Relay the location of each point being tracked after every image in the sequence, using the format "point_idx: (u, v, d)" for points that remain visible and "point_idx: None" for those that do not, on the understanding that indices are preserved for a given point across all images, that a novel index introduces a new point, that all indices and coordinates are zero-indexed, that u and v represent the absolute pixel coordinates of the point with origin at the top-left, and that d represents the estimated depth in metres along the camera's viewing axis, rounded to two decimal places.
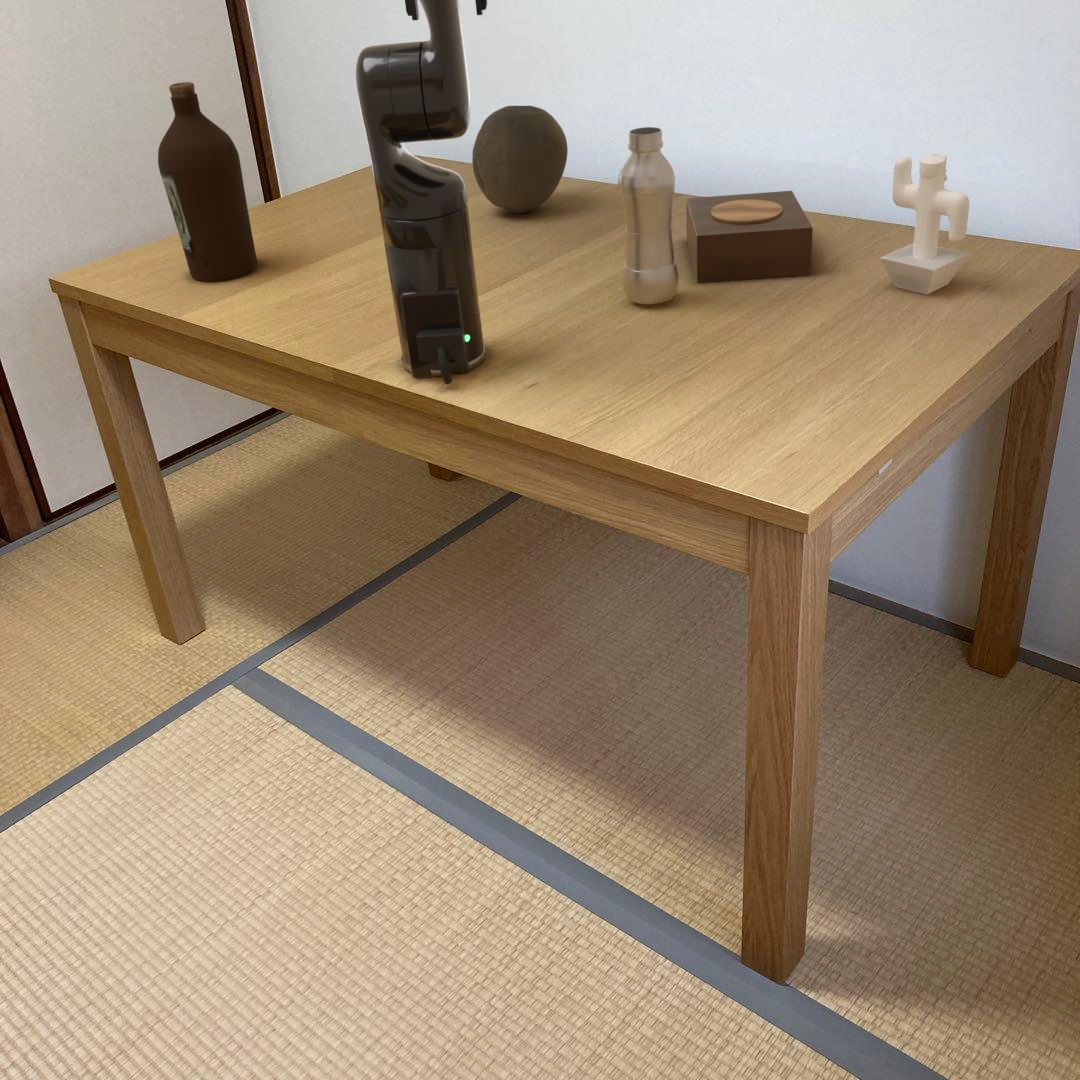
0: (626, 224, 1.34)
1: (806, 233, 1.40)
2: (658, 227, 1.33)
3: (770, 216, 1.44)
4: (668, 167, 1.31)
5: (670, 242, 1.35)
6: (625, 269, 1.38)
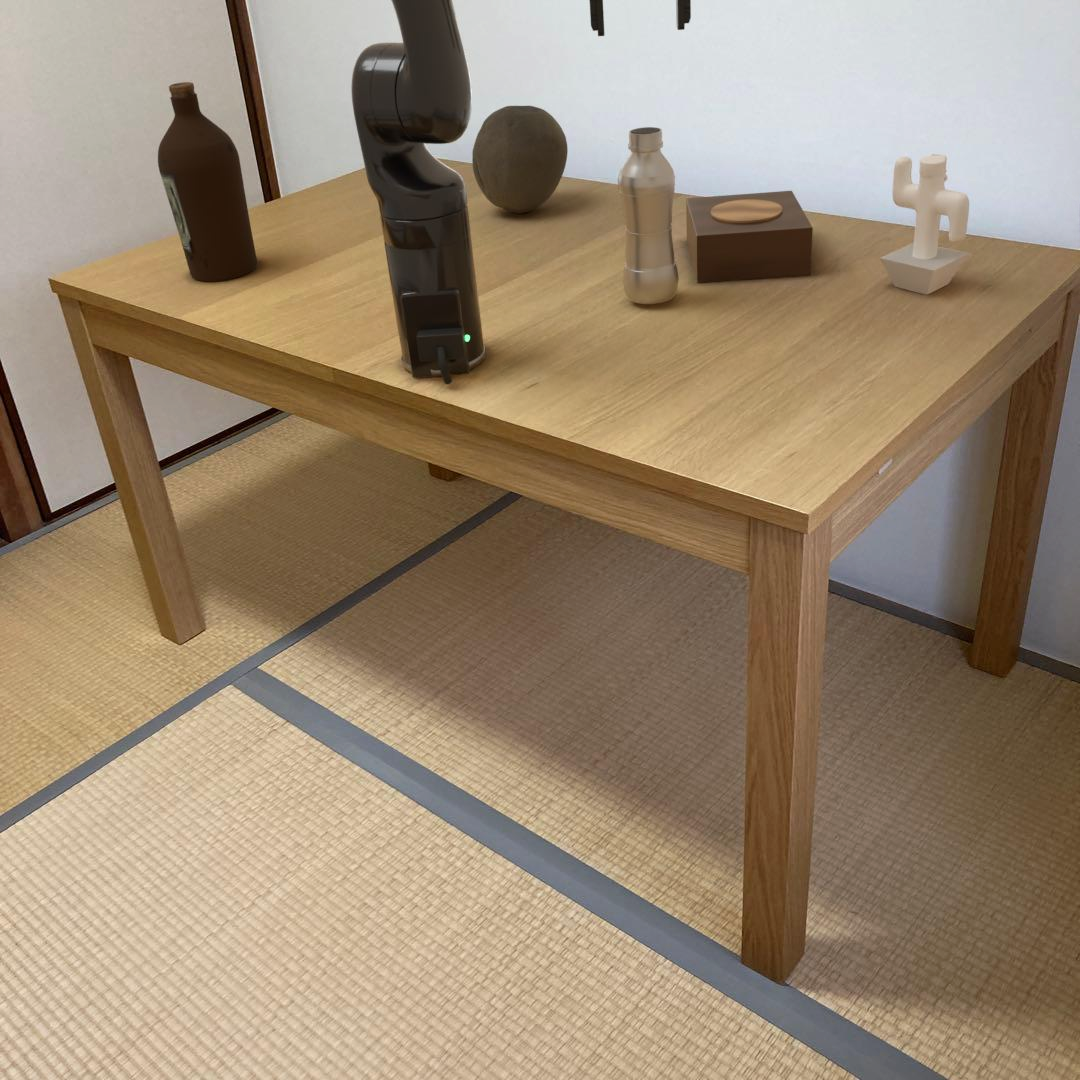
0: (626, 224, 1.34)
1: (806, 233, 1.40)
2: (658, 227, 1.33)
3: (770, 216, 1.44)
4: (668, 167, 1.31)
5: (670, 242, 1.35)
6: (625, 269, 1.38)
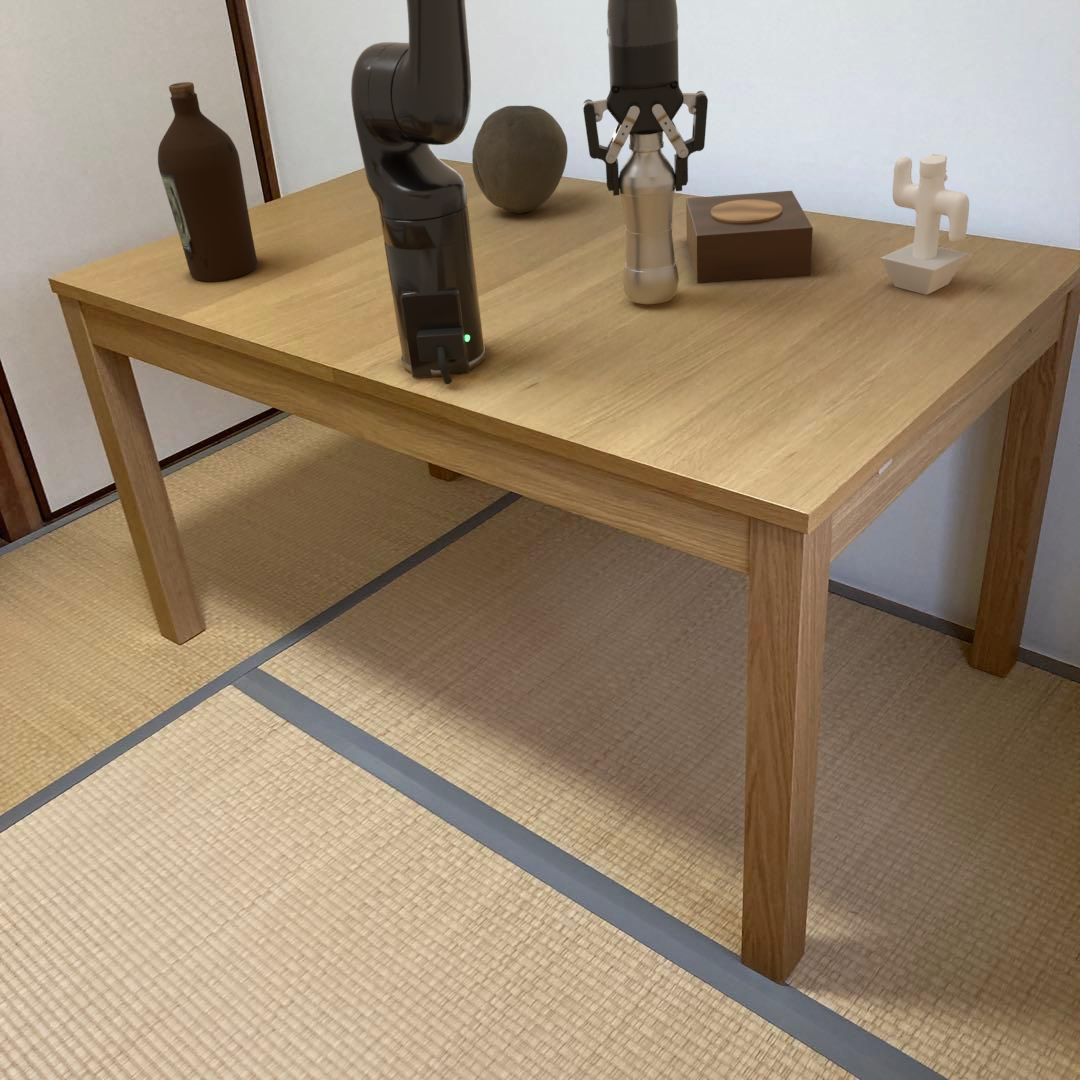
0: (626, 224, 1.34)
1: (806, 233, 1.40)
2: (658, 227, 1.33)
3: (770, 216, 1.44)
4: (669, 167, 1.31)
5: (670, 242, 1.35)
6: (625, 269, 1.38)
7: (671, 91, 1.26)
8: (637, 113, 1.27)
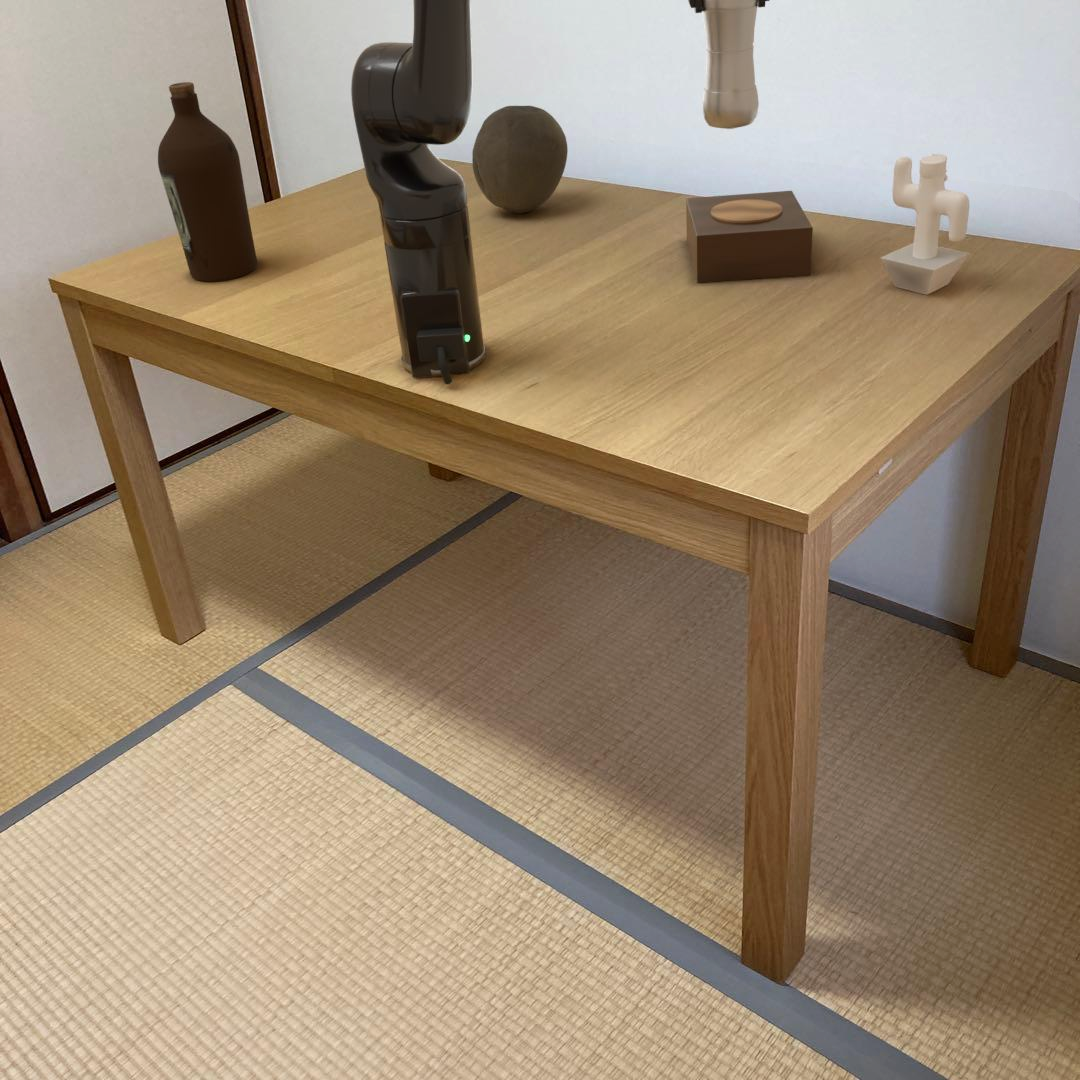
0: (708, 43, 1.34)
1: (806, 233, 1.40)
2: (741, 44, 1.32)
3: (770, 216, 1.44)
4: None
5: (752, 62, 1.34)
6: (705, 92, 1.37)
7: None
8: None
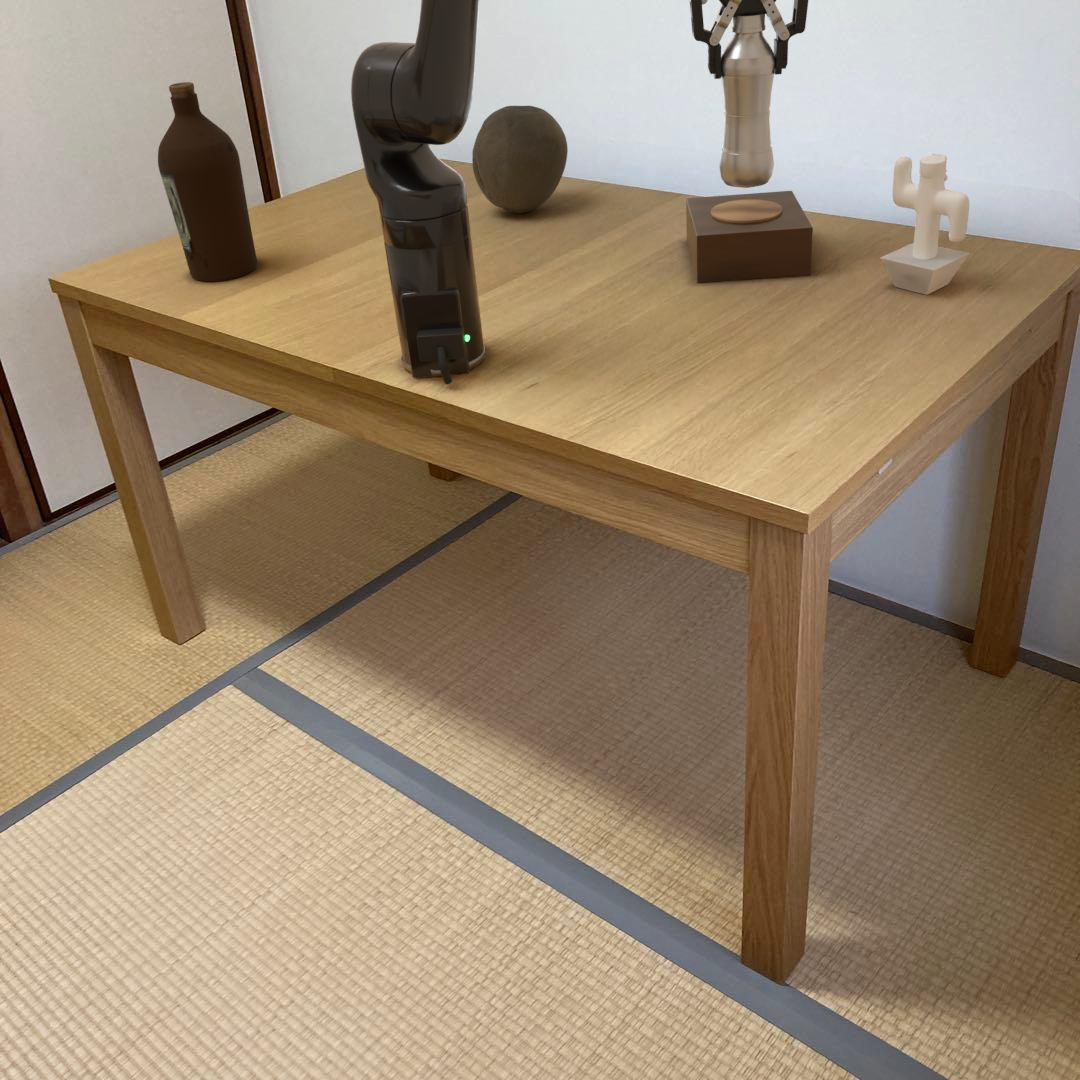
0: (726, 107, 1.40)
1: (806, 233, 1.40)
2: (758, 109, 1.38)
3: (770, 216, 1.44)
4: (770, 49, 1.36)
5: (768, 125, 1.40)
6: (723, 153, 1.43)
7: None
8: None
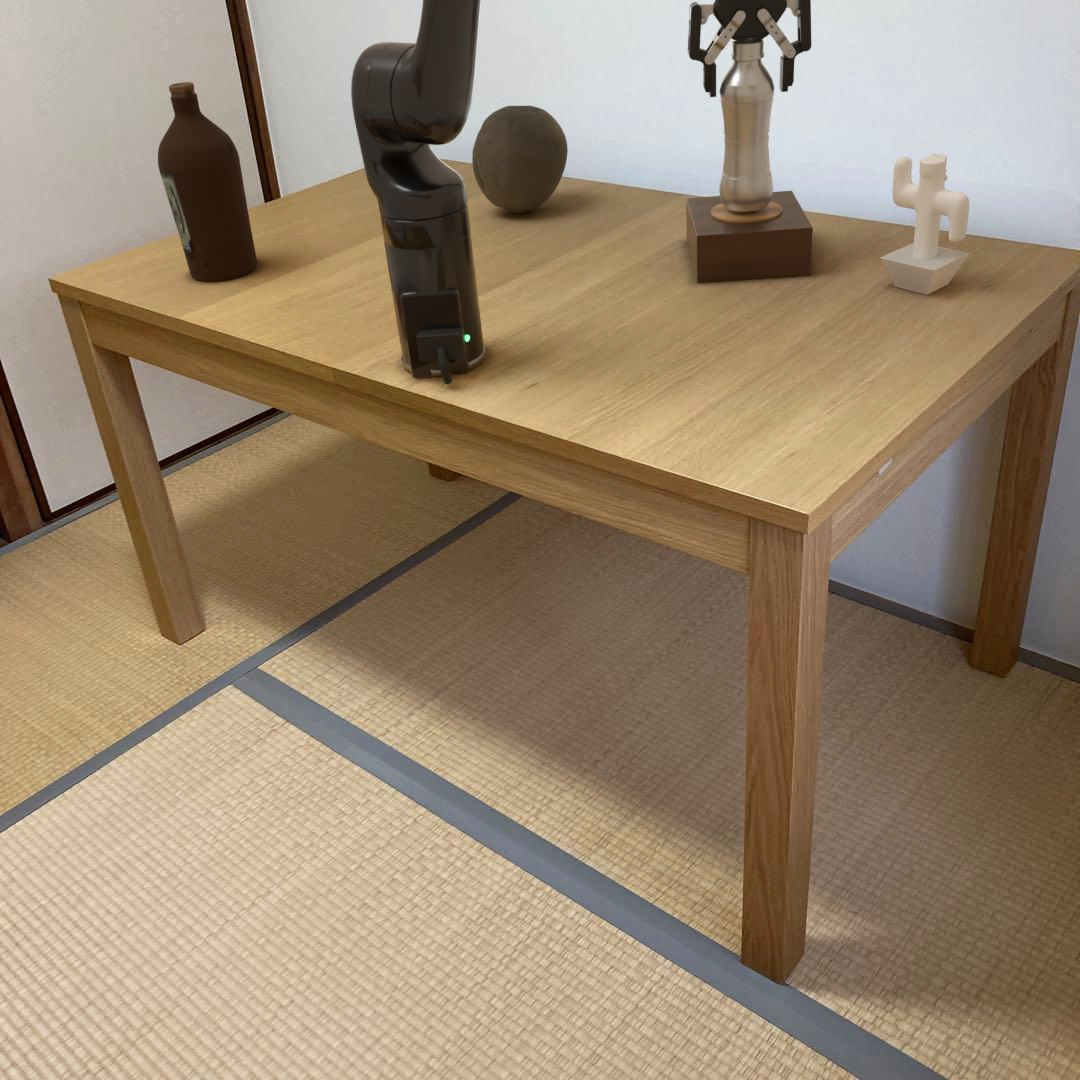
0: (726, 133, 1.41)
1: (806, 233, 1.40)
2: (757, 135, 1.40)
3: (770, 216, 1.44)
4: (768, 76, 1.37)
5: (767, 151, 1.42)
6: (722, 178, 1.44)
7: None
8: (743, 18, 1.33)
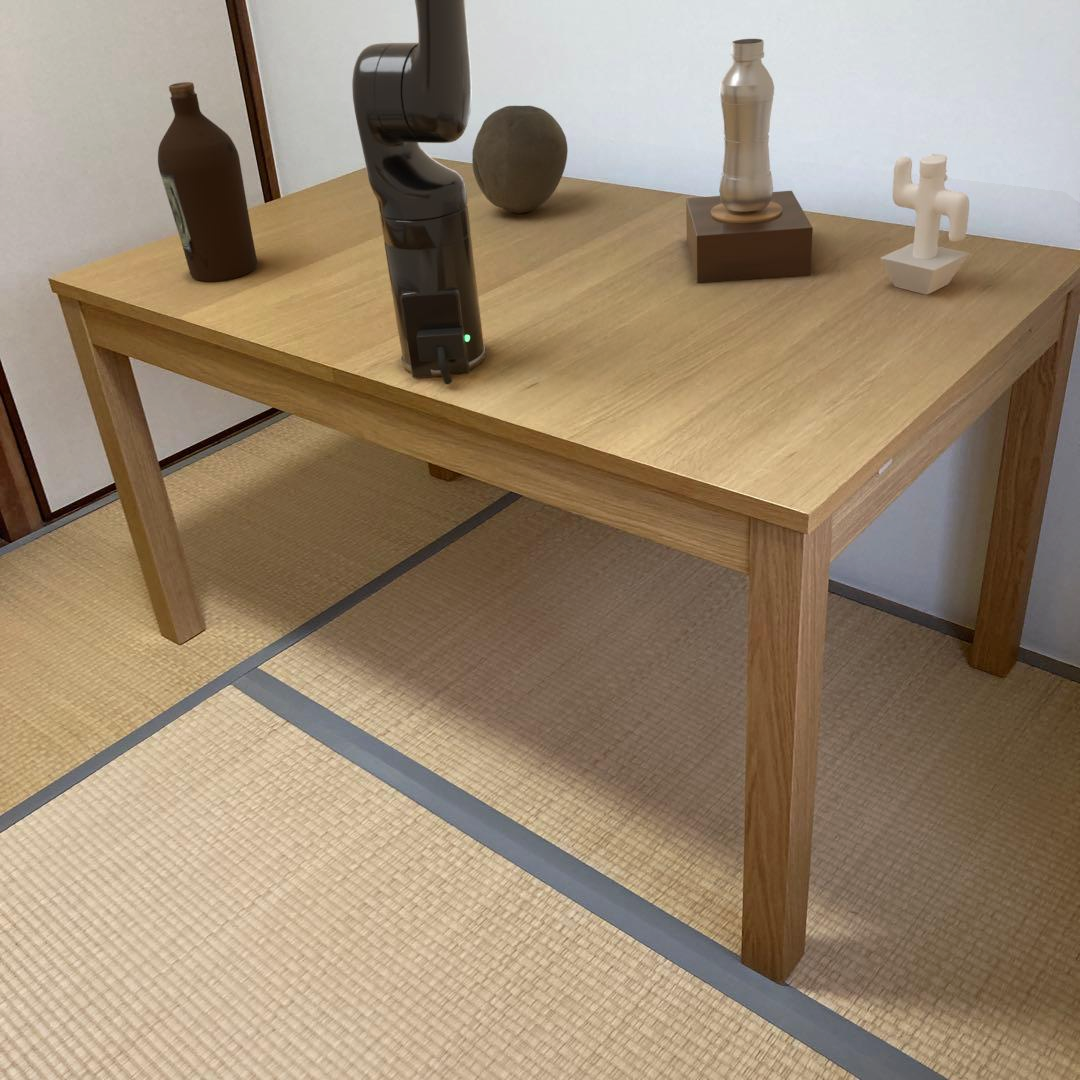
0: (726, 133, 1.41)
1: (806, 233, 1.40)
2: (757, 135, 1.40)
3: (770, 216, 1.44)
4: (768, 76, 1.37)
5: (767, 151, 1.42)
6: (722, 178, 1.44)
7: None
8: None
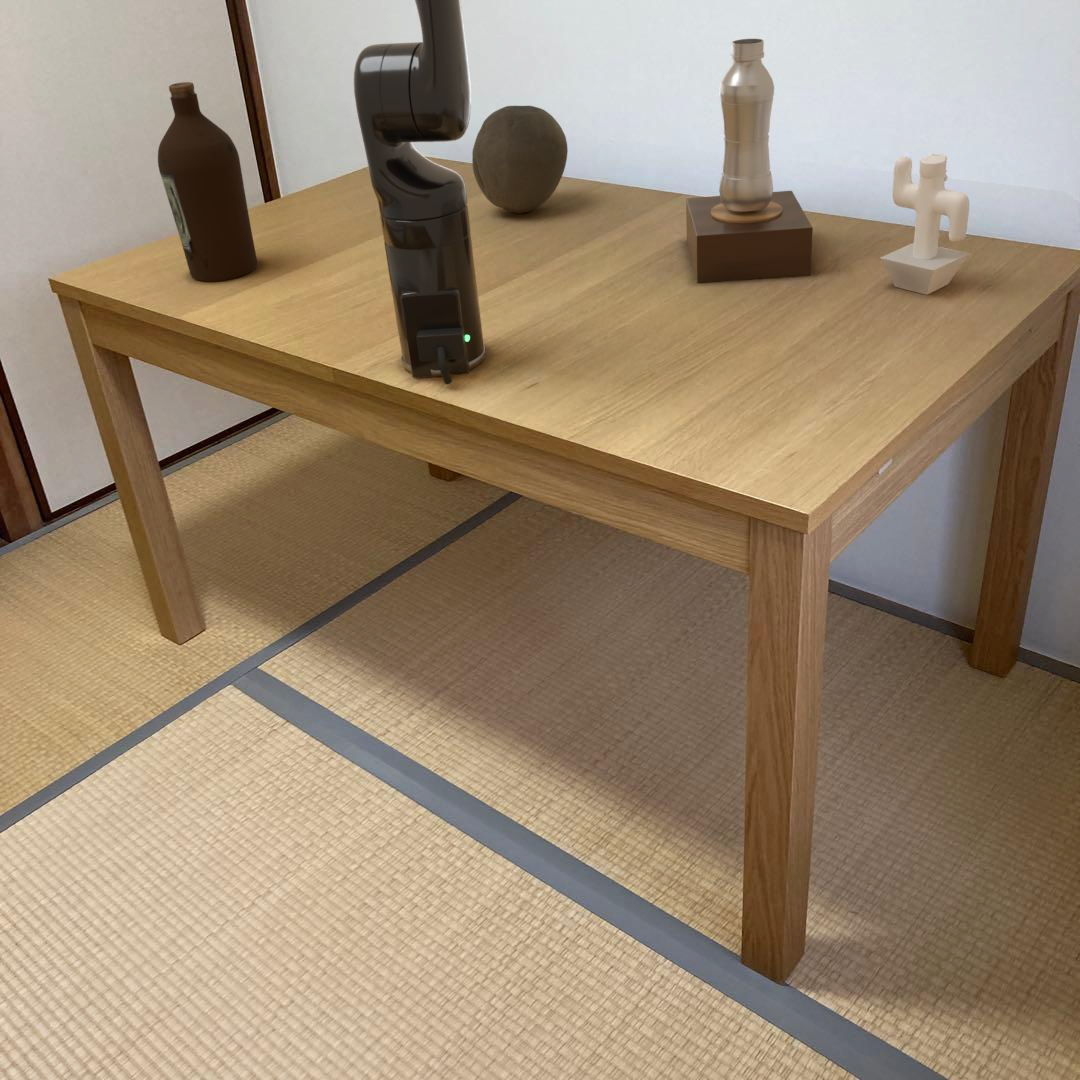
0: (726, 133, 1.41)
1: (806, 233, 1.40)
2: (757, 135, 1.40)
3: (770, 216, 1.44)
4: (768, 76, 1.37)
5: (767, 151, 1.42)
6: (722, 178, 1.44)
7: None
8: None
